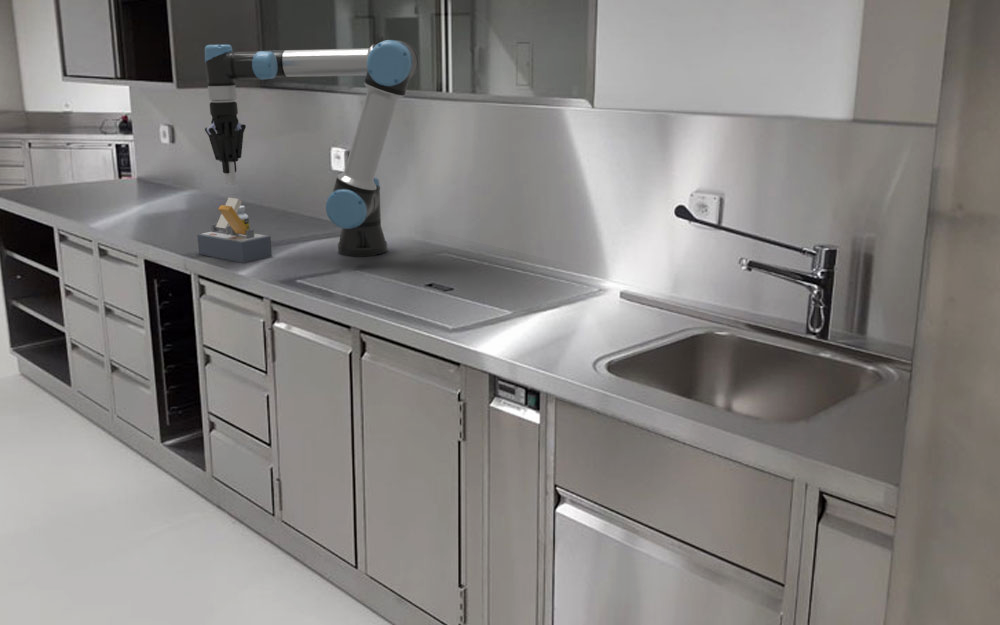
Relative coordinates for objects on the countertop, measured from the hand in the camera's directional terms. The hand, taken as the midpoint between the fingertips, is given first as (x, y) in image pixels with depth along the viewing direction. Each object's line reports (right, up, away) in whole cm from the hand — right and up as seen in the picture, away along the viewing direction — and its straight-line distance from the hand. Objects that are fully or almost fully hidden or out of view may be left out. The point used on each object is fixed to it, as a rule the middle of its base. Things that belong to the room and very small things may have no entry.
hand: (231, 184), depth 269 cm
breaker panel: (-2, -20, +11) cm, 23 cm away
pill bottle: (-5, -15, +28) cm, 33 cm away
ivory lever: (-6, -12, +12) cm, 18 cm away
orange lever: (+1, -13, +7) cm, 15 cm away
